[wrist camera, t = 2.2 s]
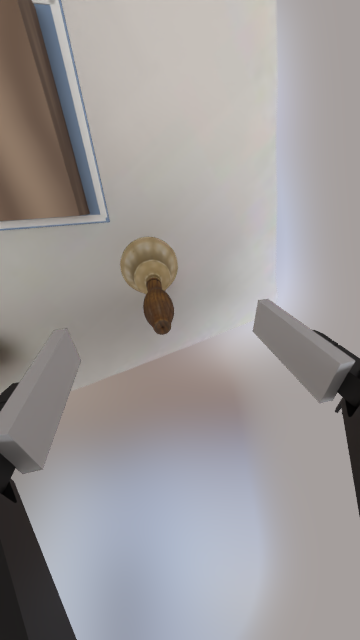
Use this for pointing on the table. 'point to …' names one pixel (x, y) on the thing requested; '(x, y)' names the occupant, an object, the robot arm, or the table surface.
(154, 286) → the hand bell
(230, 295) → the table surface
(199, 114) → the table surface
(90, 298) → the table surface
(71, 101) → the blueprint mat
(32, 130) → the walnut plinth
